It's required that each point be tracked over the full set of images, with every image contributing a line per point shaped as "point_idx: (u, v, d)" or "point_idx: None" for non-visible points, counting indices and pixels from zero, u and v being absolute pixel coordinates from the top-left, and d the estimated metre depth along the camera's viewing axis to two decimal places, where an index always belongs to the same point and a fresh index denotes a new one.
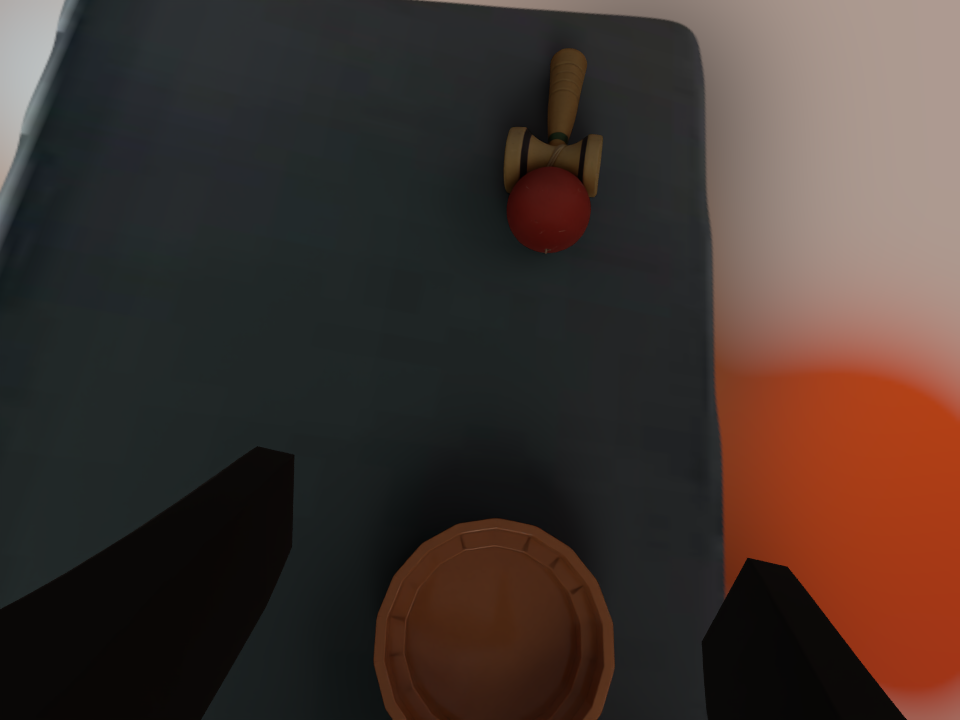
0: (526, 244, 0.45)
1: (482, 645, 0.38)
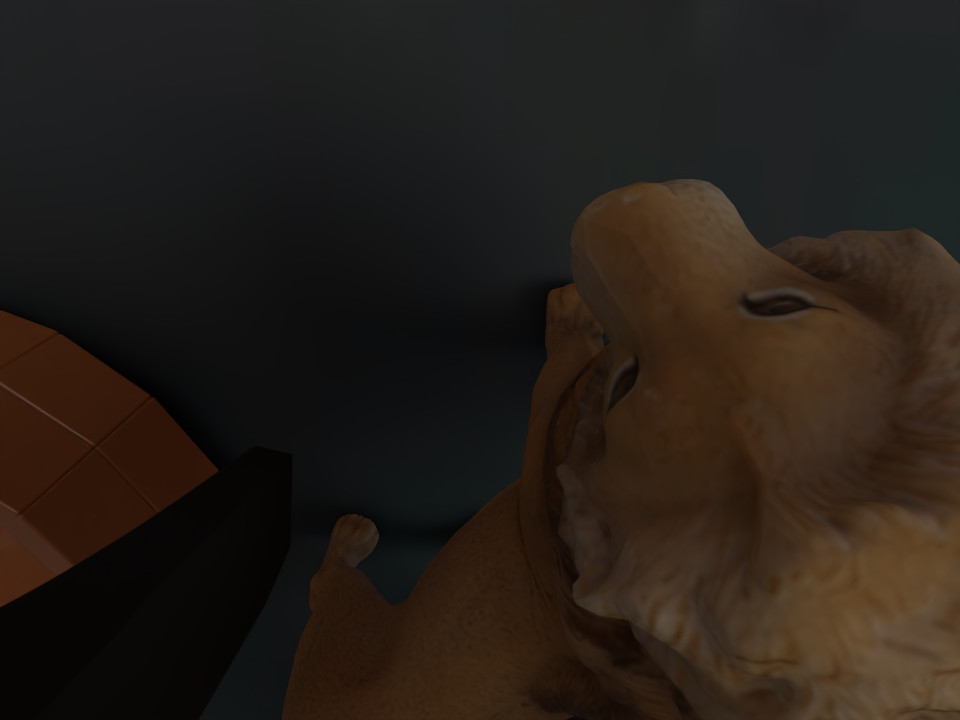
0: None
1: None
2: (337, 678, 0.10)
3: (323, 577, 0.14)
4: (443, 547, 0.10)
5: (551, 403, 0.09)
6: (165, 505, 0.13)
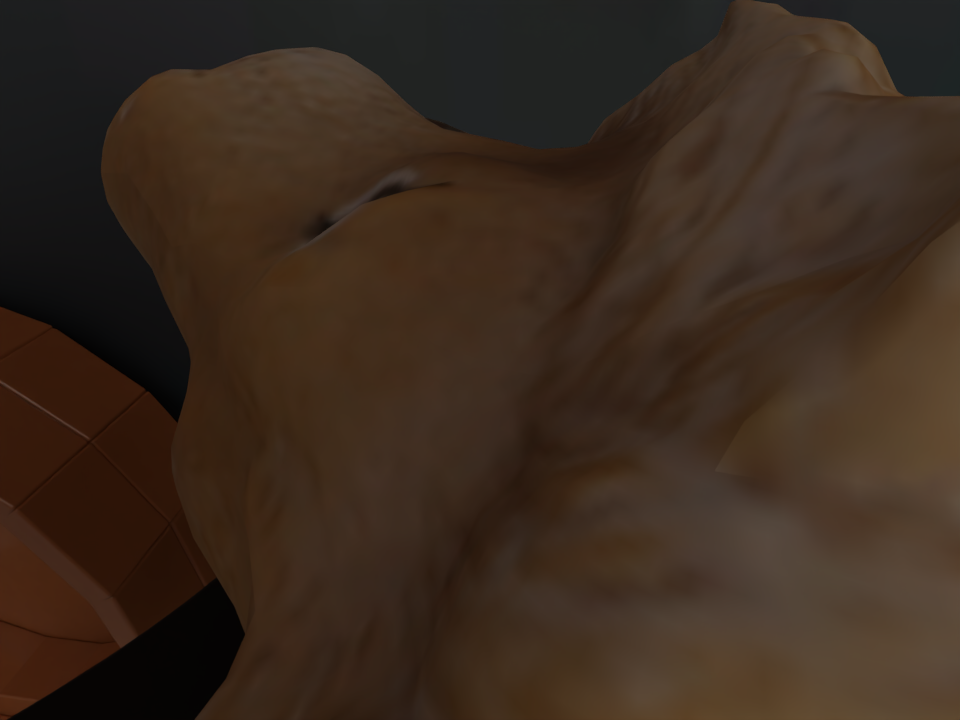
0: None
1: None
2: None
3: None
4: None
5: None
6: (161, 499, 0.13)
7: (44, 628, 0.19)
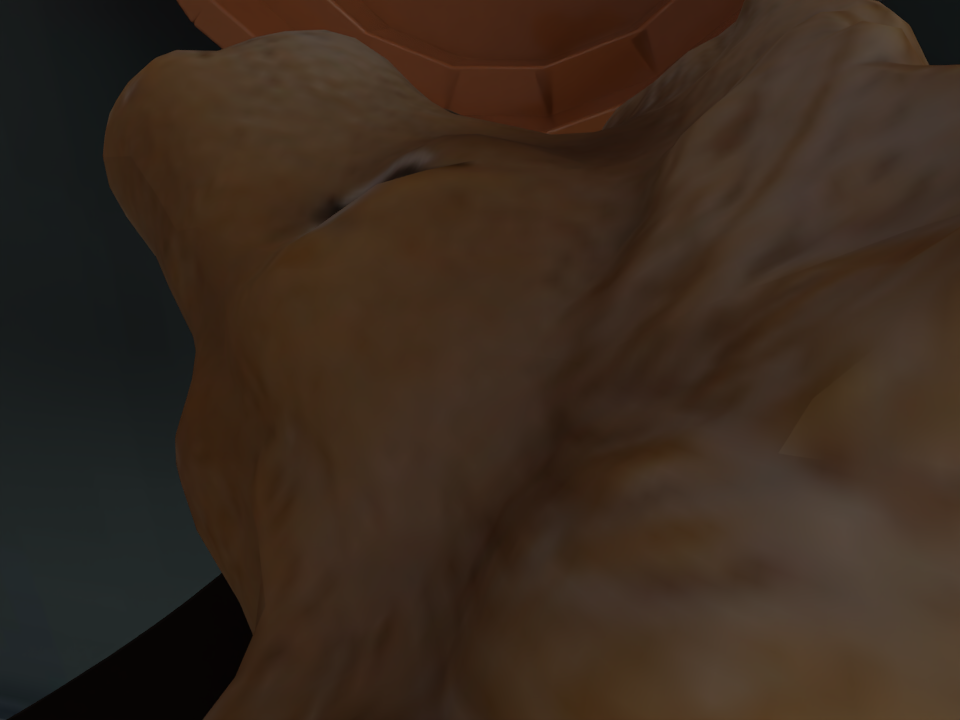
0: None
1: None
2: None
3: None
4: None
5: None
6: None
7: (468, 42, 0.14)
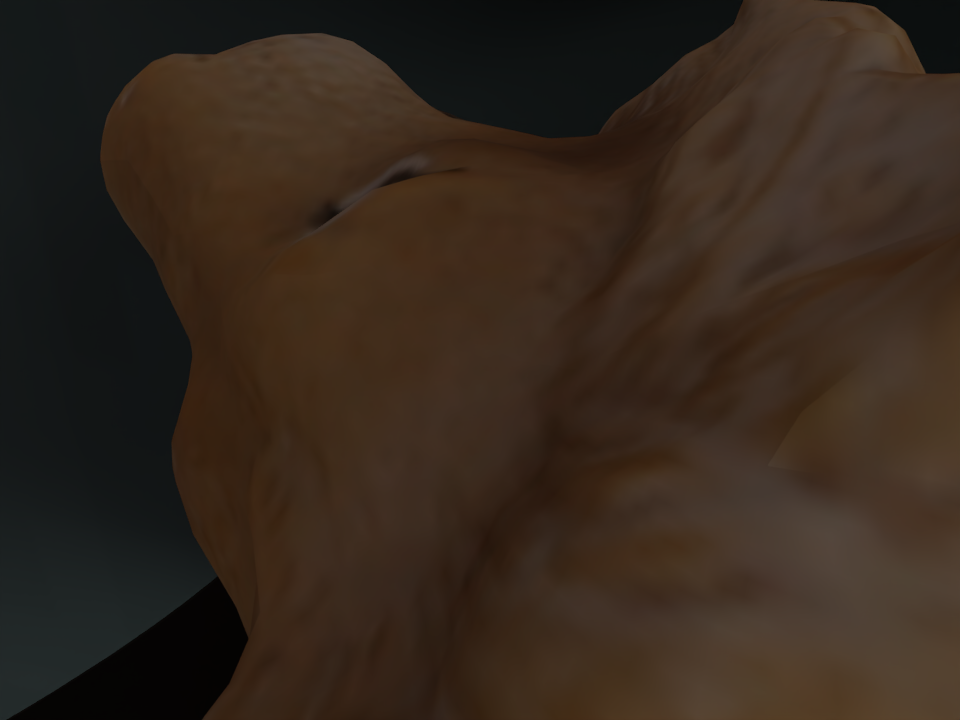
0: None
1: None
2: None
3: None
4: None
5: None
6: None
7: None
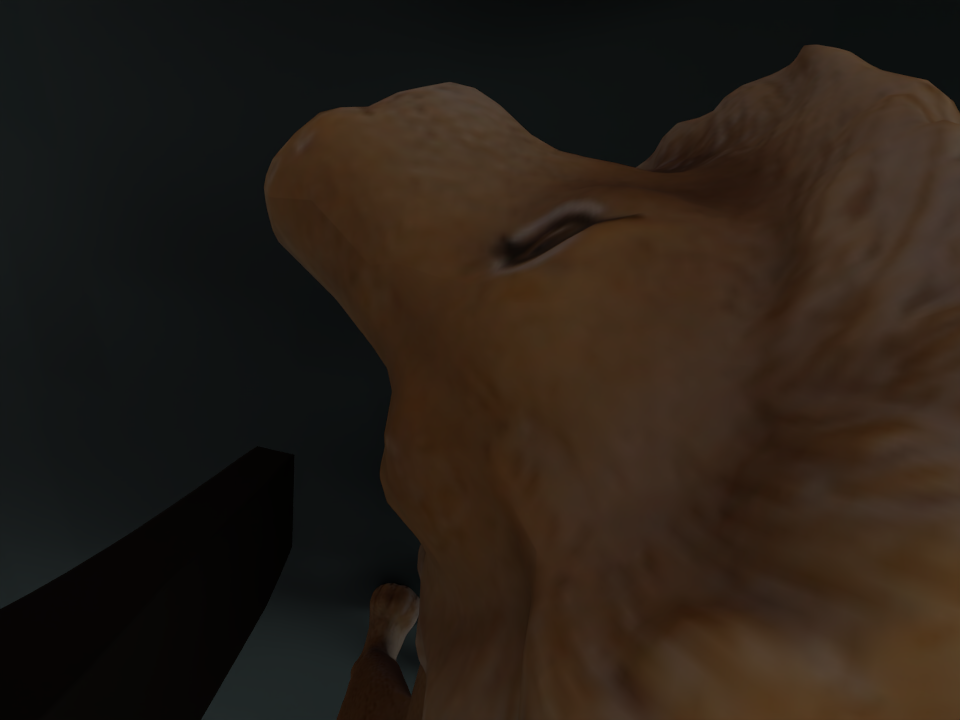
0: None
1: None
2: None
3: None
4: None
5: None
6: None
7: None
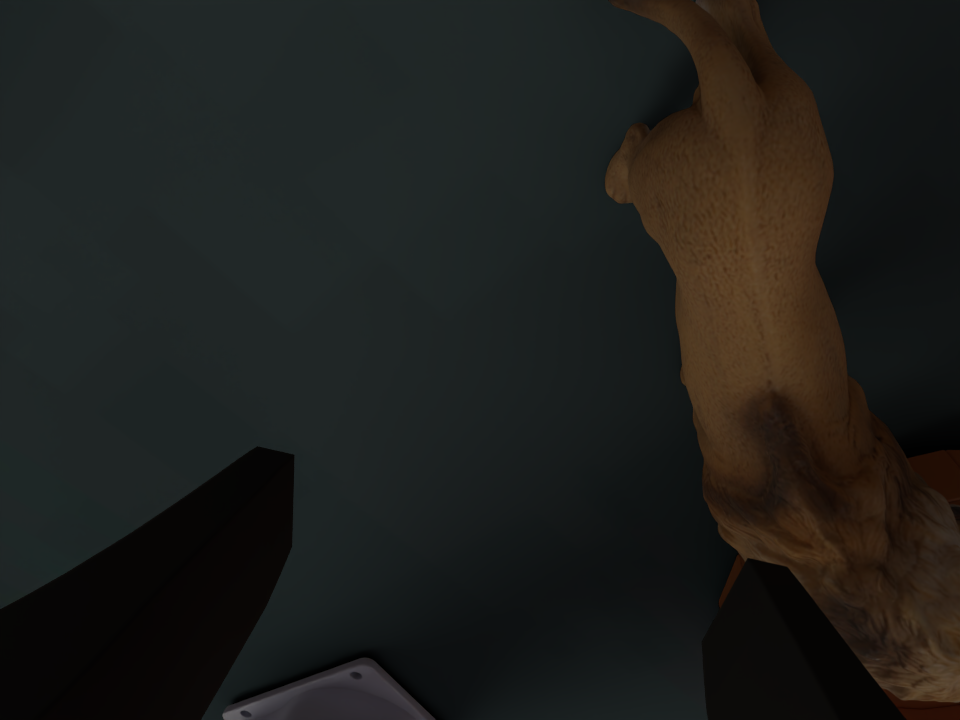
0: None
1: None
2: None
3: None
4: None
5: None
6: None
7: None
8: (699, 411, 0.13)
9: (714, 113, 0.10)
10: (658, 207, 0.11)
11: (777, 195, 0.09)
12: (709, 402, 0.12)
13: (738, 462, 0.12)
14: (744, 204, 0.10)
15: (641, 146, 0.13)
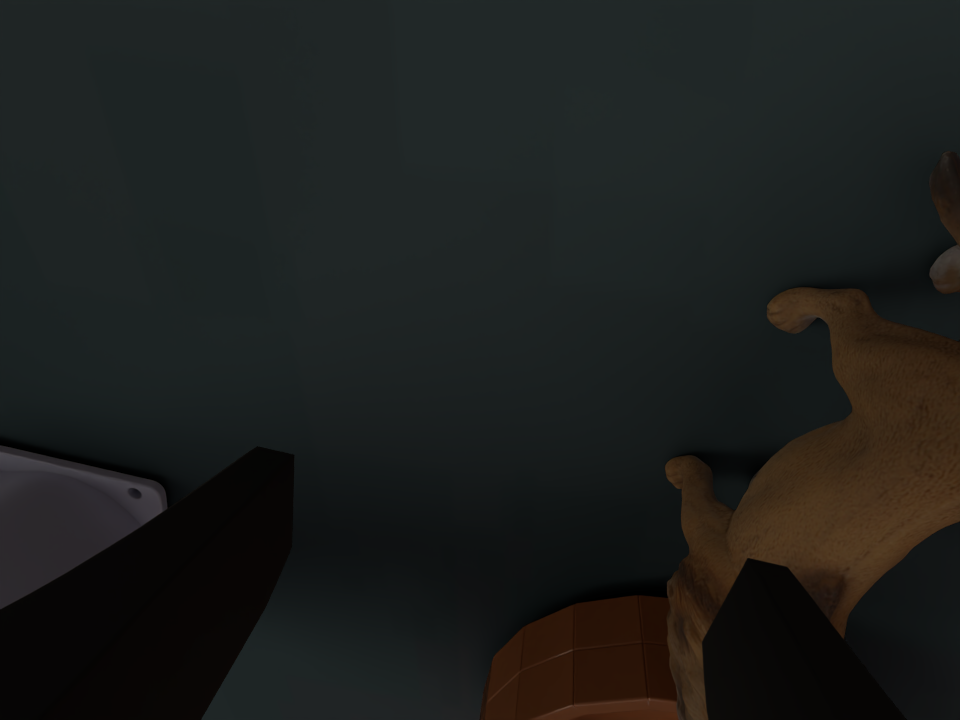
0: None
1: None
2: None
3: None
4: None
5: None
6: None
7: None
8: (753, 539, 0.14)
9: None
10: (917, 408, 0.12)
11: None
12: (781, 545, 0.14)
13: None
14: None
15: (880, 325, 0.14)
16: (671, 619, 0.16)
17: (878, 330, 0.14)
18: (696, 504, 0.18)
